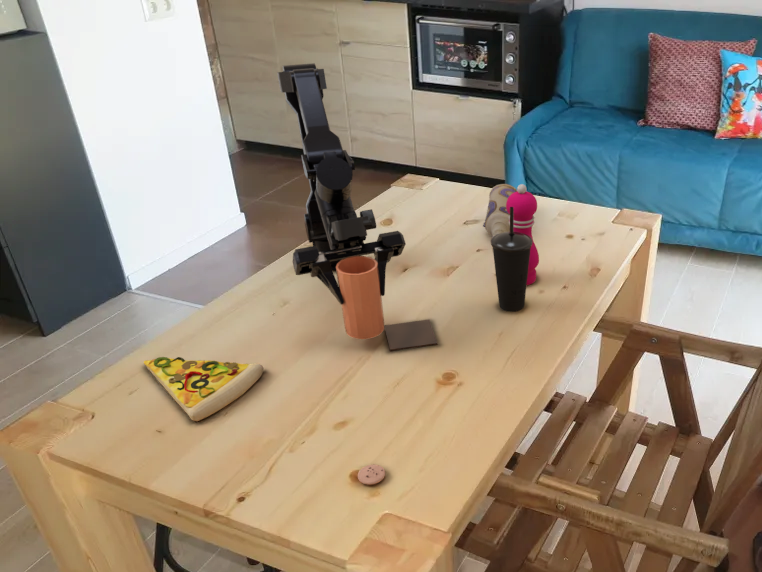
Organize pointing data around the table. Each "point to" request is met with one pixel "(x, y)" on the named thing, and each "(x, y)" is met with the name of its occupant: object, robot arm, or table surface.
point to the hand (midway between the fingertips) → (362, 299)
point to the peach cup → (361, 296)
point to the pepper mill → (525, 223)
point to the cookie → (371, 474)
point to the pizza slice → (203, 382)
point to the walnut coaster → (410, 335)
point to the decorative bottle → (498, 210)
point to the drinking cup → (511, 266)
